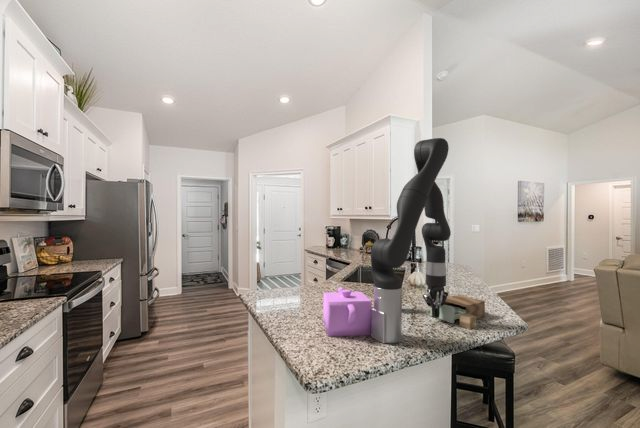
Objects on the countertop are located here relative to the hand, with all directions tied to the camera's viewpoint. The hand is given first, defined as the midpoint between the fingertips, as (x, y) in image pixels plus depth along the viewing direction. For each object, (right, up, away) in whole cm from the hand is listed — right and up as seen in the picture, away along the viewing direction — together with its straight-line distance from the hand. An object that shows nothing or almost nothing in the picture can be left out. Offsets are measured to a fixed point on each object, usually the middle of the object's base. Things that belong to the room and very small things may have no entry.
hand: (435, 317), depth 113 cm
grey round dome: (+7, 0, +4) cm, 8 cm away
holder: (+15, -2, +9) cm, 17 cm away
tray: (+8, -1, +4) cm, 9 cm away
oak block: (+10, -2, -5) cm, 11 cm away
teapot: (-36, -1, -7) cm, 37 cm away
